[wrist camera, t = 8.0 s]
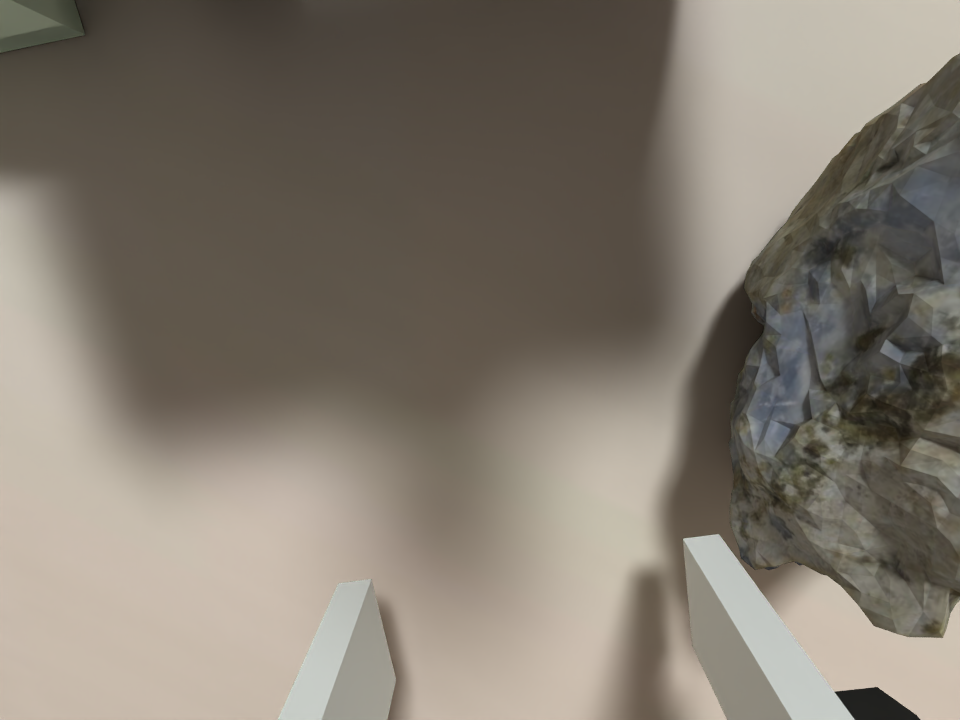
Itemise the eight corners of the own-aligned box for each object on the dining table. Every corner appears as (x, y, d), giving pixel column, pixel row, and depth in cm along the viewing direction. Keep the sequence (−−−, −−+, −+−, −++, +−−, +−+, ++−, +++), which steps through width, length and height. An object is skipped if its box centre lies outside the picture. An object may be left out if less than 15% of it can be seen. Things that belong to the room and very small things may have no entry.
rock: (1843, -556, 3) (1365, 148, 9) (814, -190, 8) (956, 120, 14) (817, 803, 6) (980, 642, 12) (505, 477, 10) (742, 484, 16)
